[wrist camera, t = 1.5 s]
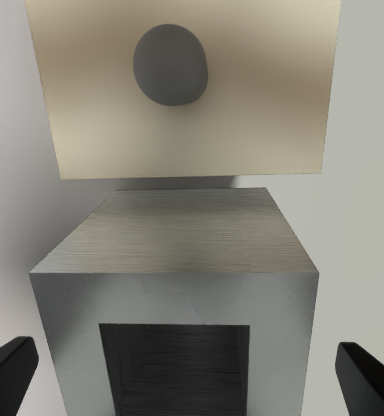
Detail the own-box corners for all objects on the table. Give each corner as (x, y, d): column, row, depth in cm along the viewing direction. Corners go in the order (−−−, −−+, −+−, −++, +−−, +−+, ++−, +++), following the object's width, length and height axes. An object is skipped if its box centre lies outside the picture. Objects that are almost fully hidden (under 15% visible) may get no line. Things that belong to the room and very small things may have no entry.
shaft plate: (312, 167, 12) (377, 210, 7) (72, 173, 12) (-10, 216, 8) (335, -49, 9) (454, -194, 5) (35, -26, 10) (-115, -132, 5)
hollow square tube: (259, 312, 14) (294, 464, 8) (132, 311, 15) (78, 454, 9) (265, 187, 12) (319, 273, 6) (115, 190, 13) (28, 272, 7)
